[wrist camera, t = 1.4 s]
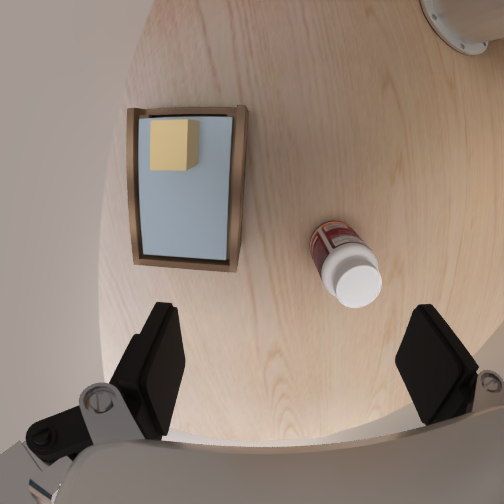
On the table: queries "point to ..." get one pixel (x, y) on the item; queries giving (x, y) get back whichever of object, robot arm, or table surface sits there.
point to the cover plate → (185, 185)
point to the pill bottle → (345, 264)
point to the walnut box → (234, 194)
